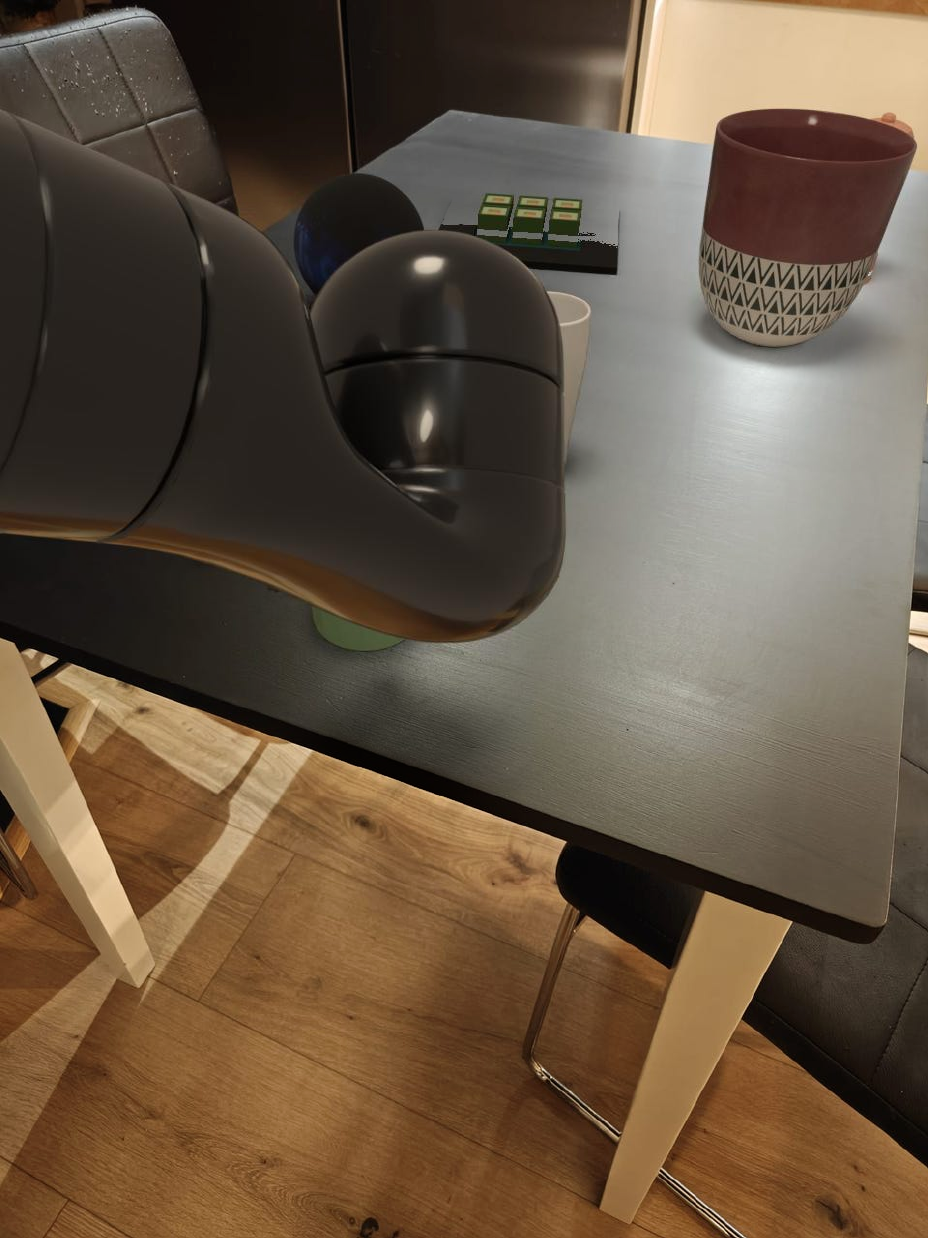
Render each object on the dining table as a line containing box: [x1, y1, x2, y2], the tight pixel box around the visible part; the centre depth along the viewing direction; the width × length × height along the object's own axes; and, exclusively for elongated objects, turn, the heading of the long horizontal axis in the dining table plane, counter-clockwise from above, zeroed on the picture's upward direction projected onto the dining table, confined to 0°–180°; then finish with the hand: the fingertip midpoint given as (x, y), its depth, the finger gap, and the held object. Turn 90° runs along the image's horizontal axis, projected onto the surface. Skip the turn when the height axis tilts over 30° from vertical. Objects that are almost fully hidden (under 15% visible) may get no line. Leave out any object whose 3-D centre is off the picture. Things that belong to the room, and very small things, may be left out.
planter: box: [698, 108, 918, 348], centre depth 98 cm, size 20×20×21 cm
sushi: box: [437, 192, 619, 276], centre depth 127 cm, size 25×25×4 cm
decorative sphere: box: [293, 172, 425, 297], centre depth 103 cm, size 15×15×15 cm
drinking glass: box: [547, 291, 592, 466], centre depth 79 cm, size 7×7×15 cm
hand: (372, 572), depth 58 cm, fingers closed
